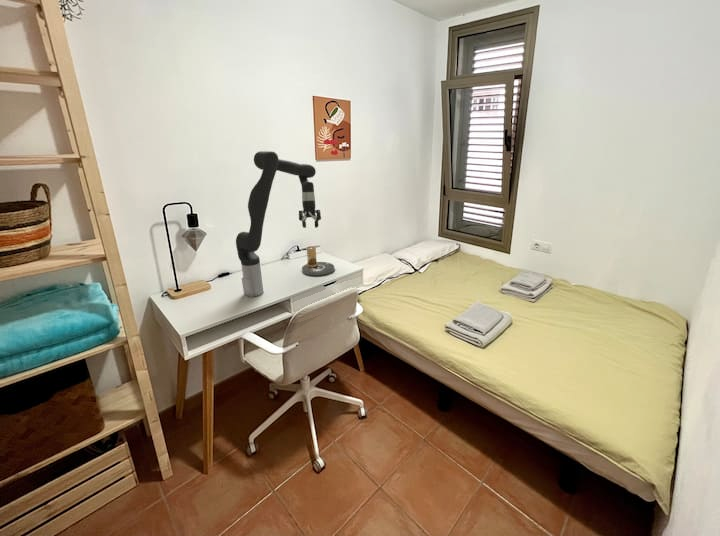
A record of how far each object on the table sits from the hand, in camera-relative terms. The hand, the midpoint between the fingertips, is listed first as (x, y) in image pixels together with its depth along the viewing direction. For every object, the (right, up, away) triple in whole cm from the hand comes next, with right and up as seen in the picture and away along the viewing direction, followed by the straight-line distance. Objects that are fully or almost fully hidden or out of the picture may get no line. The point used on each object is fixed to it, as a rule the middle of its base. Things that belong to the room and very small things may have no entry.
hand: (310, 227), depth 201 cm
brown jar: (0, -23, +9) cm, 25 cm away
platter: (+4, -26, +7) cm, 27 cm away
